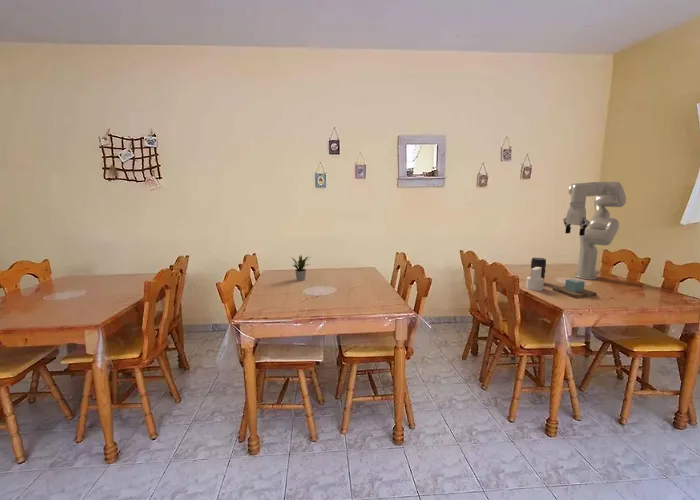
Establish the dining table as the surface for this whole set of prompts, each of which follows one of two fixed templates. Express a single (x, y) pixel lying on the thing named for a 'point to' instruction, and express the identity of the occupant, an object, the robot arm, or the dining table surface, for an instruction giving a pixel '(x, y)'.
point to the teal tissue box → (574, 285)
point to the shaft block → (574, 294)
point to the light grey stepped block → (535, 279)
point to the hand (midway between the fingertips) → (574, 234)
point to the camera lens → (539, 265)
